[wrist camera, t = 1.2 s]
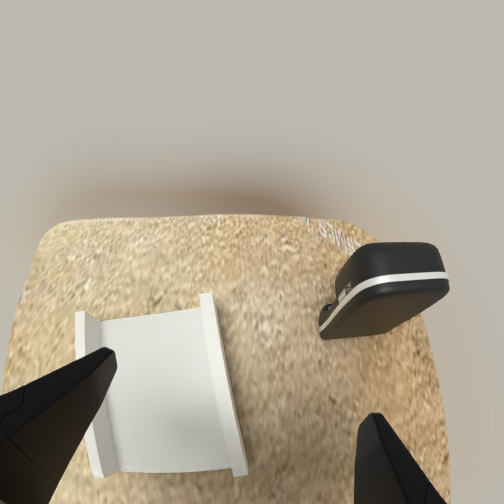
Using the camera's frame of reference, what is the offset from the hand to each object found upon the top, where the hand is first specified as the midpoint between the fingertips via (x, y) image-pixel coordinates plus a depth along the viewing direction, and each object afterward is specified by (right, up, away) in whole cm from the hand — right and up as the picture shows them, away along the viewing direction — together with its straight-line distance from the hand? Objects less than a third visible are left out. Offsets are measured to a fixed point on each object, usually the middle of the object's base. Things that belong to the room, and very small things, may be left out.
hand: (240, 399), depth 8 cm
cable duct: (-7, -7, +13) cm, 16 cm away
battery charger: (+9, -1, +16) cm, 19 cm away
